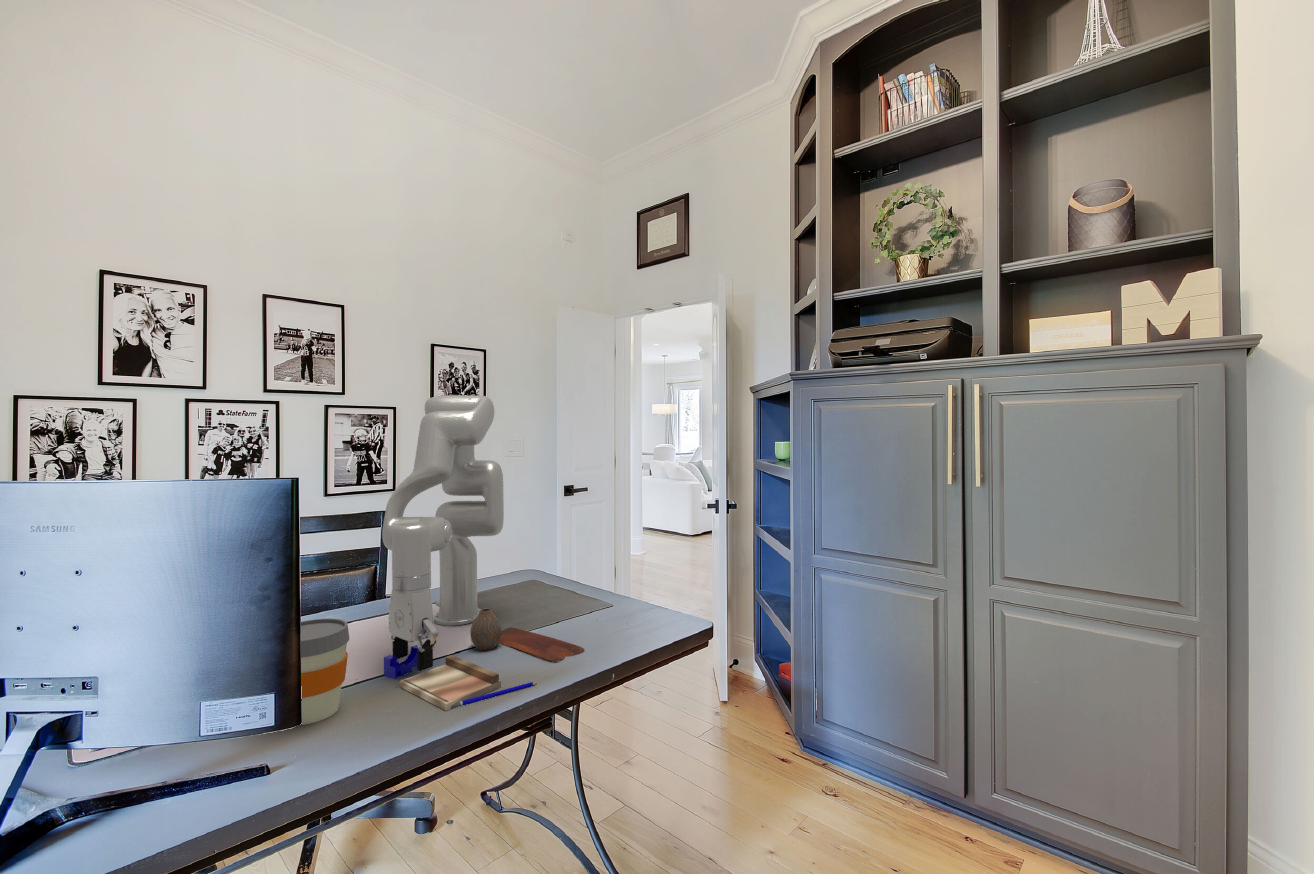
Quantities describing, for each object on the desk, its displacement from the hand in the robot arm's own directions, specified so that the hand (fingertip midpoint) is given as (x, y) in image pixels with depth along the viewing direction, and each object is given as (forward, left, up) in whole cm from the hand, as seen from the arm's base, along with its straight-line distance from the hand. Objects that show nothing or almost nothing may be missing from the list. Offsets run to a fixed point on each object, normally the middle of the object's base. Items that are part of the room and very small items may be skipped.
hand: (412, 663), depth 120 cm
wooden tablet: (+8, +26, -3) cm, 27 cm away
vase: (+1, +18, -2) cm, 18 cm away
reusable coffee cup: (+2, -20, -2) cm, 21 cm away
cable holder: (-2, 0, -2) cm, 3 cm away
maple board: (+13, +1, -2) cm, 13 cm away
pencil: (+23, +4, -2) cm, 23 cm away
